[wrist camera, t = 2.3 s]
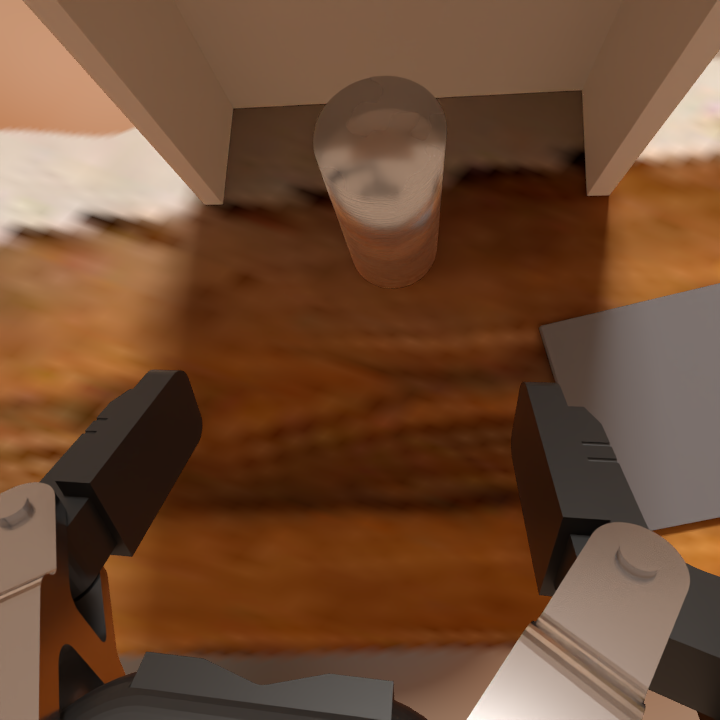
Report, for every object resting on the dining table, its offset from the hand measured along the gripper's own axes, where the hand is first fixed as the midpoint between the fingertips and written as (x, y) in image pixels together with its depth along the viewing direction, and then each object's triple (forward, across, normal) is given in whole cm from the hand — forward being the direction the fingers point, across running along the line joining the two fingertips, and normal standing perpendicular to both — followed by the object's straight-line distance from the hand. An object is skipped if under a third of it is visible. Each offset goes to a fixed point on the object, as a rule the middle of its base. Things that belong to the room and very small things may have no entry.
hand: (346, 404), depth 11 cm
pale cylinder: (+17, 0, +3) cm, 18 cm away
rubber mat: (+11, -15, +9) cm, 20 cm away
